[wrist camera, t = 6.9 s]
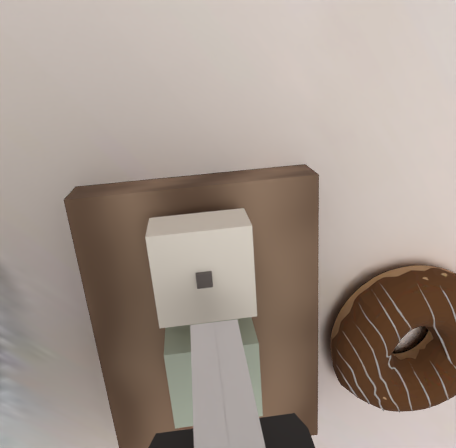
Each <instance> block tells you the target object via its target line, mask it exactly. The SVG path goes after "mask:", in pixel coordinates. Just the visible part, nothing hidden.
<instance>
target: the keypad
mask: <svg viewBox="0 0 456 448" xmlns="http://www.w3.org/2000/svg"><path fill="white" fill-rule="evenodd" d="M64 203H65V207H66V212H67V216H68V221H69V225H70V230H71V234H72V239H73V243H74V248H75V252H76V257H77V261H78V266H79V270H80V274H81V279H82V283H83V288H84V292H85V297H86V301H87V306H88V310H89V315H90V319H91V324H92V328H93V333H94V337H95V342H96V346H97V350H98V355H99V359H100V364H101V368H102V373H103V377H104V382H105V386H106V391H107V395H108V400H109V404H110V409H111V413H112V418H113V422H114V426H115V431H116V435H117V440H118V444H119V448H148V447H149V445H150V443H151V442H152V440H153V438H154V436H155V434H156V433H163V432H170V431H177V430H179V428H176V429H175V425H174V418H173V412H172V406H171V399H170V393H169V386H168V380H167V373H166V367H165V361H164V342H165V328H159V322H158V316H157V309H156V303H155V297H154V290H153V284H152V277H151V271H150V264H149V258H148V252H147V245H146V239H145V236H146V231H147V226H148V221H149V218H153V217H163V216H173V215H182V214H192V213H201V212H211V211H220V210H230V209H240V208H244V209H245V211H246V213H247V216H248V218H249V220H250V222H251V224H252V232H253V249H254V267H255V285H256V303H257V316H256V317H251V318H252V321H253V325H254V328H255V332H256V335H257V339H258V342H259V356H260V374H261V392H262V409H263V416H260V417H259V418H262V417H269V416H276V415H283V414H291V413H295V414H296V415H297V416H298V417H299V419H300V420H301V421H302V422H303V423H304V424H305V425H306V426H307V427H308V429H309V432H310V435H317V432H318V212H319V175H318V174H317V173H316V172H315V171H313V170H312V169H311V168H309V167H308V166H307V165H305V164H304V165H294V166H283V167H273V168H263V169H253V170H242V171H232V172H222V173H212V174H201V175H191V176H181V177H171V178H160V179H150V180H140V181H130V182H119V183H109V184H99V185H89V186H78V187H75V188H74V189H73V190H72V191H71V193H70V194H69V195H68V196H67V197H66V198H65V199H64Z"/></svg>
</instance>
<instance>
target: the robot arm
mask: <svg viewBox="0 0 456 448" xmlns="http://www.w3.org/2000/svg"><path fill="white" fill-rule="evenodd" d="M190 333H191V366H192V400H193V428H192V429H184V430H177V431H170V432H163V433H156V434H155V436H154V438H153V440H152V442H151V443H150V445H149V447H148V448H315V446H314V443H313V441H312V438H311V435H310V432H309V429H308V427H307V426H306V425H305V424H304V423H303V422H302V421H301V420H300V419H299V417H298V416H297V415H296V414H295V413H291V414H283V415H276V416H269V417H262V418H259V415H258V411H257V406H256V402H255V397H254V393H253V388H252V384H251V379H250V375H249V370H248V365H247V361H246V356H245V352H244V347H243V343H242V338H241V334H240V329H239V325H238V320H237V319H236V320H228V321H220V322H212V323H203V324H195V325H190Z"/></svg>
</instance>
